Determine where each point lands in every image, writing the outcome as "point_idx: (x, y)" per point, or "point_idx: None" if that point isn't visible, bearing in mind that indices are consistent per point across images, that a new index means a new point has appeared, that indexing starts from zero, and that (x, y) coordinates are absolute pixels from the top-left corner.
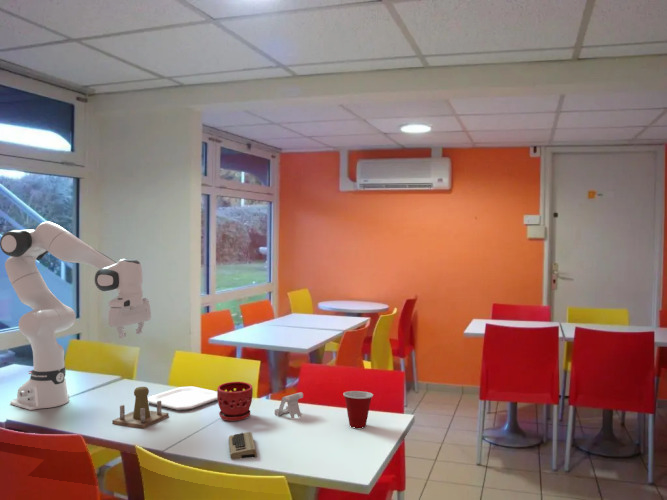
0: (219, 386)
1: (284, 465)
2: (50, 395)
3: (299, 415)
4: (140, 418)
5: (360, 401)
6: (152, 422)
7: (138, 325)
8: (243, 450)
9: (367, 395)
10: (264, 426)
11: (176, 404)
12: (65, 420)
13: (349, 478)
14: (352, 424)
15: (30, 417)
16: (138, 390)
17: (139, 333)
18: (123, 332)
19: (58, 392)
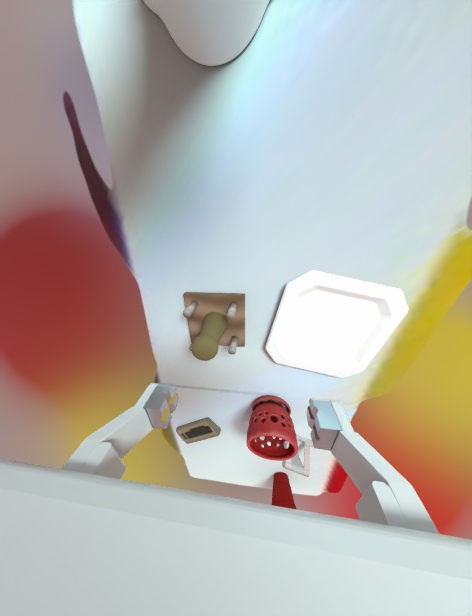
0: (265, 435)
1: (188, 450)
2: (172, 5)
3: None
4: (195, 337)
5: None
6: None
7: (370, 466)
8: (182, 438)
9: None
10: None
11: (288, 335)
12: (153, 199)
13: (192, 472)
14: (274, 477)
15: (116, 84)
16: (192, 352)
17: (309, 413)
18: (143, 433)
19: (196, 13)
